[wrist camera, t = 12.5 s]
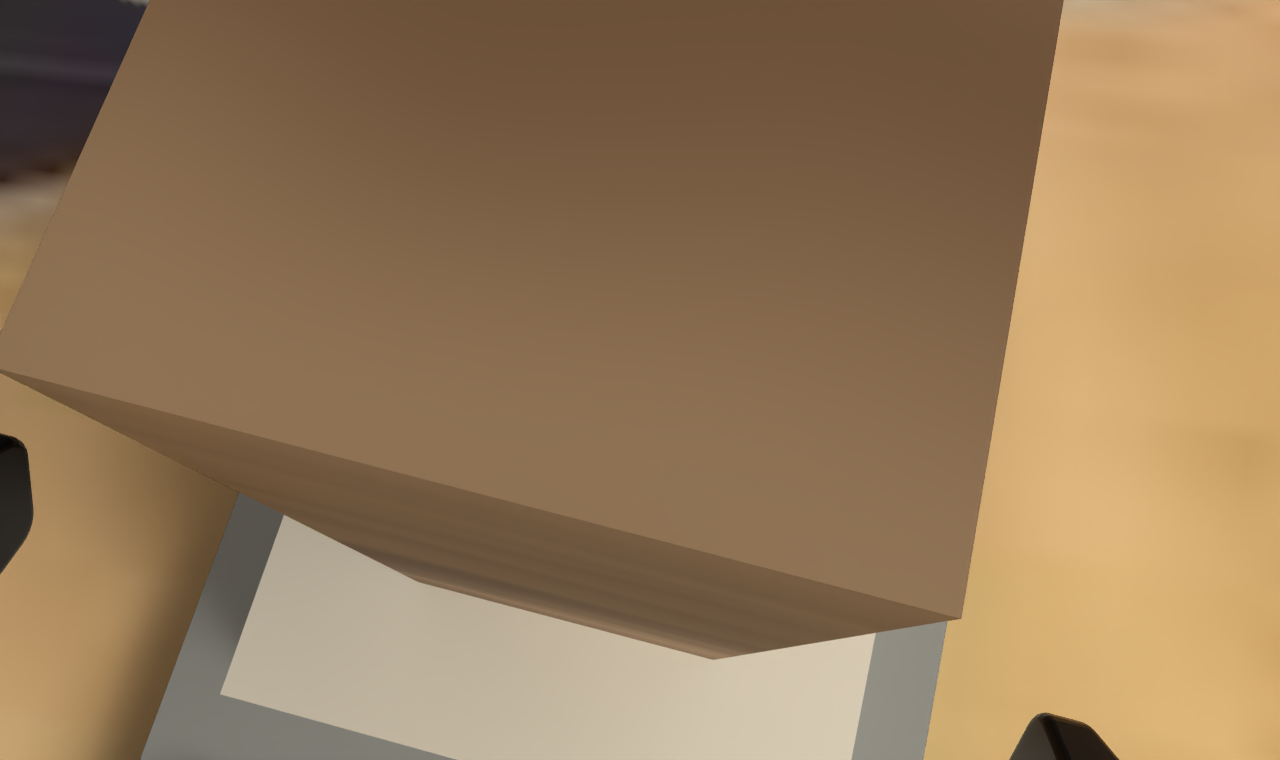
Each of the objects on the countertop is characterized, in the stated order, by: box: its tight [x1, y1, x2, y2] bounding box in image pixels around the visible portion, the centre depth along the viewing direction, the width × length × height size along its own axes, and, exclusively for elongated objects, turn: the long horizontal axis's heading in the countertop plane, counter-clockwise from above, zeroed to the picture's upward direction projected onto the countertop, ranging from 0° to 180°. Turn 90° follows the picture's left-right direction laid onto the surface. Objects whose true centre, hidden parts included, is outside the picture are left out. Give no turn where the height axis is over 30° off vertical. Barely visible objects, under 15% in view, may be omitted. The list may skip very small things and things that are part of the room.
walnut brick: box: [0, 0, 1064, 660], centre depth 12 cm, size 5×5×12 cm
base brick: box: [140, 492, 947, 760], centre depth 20 cm, size 20×14×4 cm
